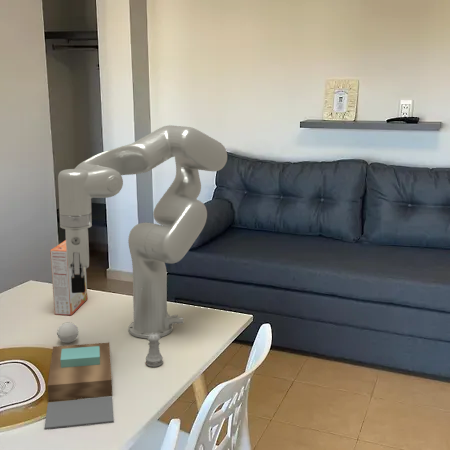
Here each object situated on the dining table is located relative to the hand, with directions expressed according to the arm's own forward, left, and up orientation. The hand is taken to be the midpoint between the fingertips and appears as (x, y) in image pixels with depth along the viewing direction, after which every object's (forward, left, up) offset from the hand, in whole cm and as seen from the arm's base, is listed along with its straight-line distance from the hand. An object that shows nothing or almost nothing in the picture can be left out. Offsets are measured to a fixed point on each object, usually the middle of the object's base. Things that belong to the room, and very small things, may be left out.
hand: (78, 291), depth 147 cm
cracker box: (+4, -37, -19) cm, 42 cm away
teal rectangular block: (0, +9, -14) cm, 17 cm away
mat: (0, +26, -18) cm, 32 cm away
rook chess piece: (-18, +6, -19) cm, 27 cm away
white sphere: (+4, -10, -19) cm, 22 cm away
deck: (0, +10, -18) cm, 21 cm away
